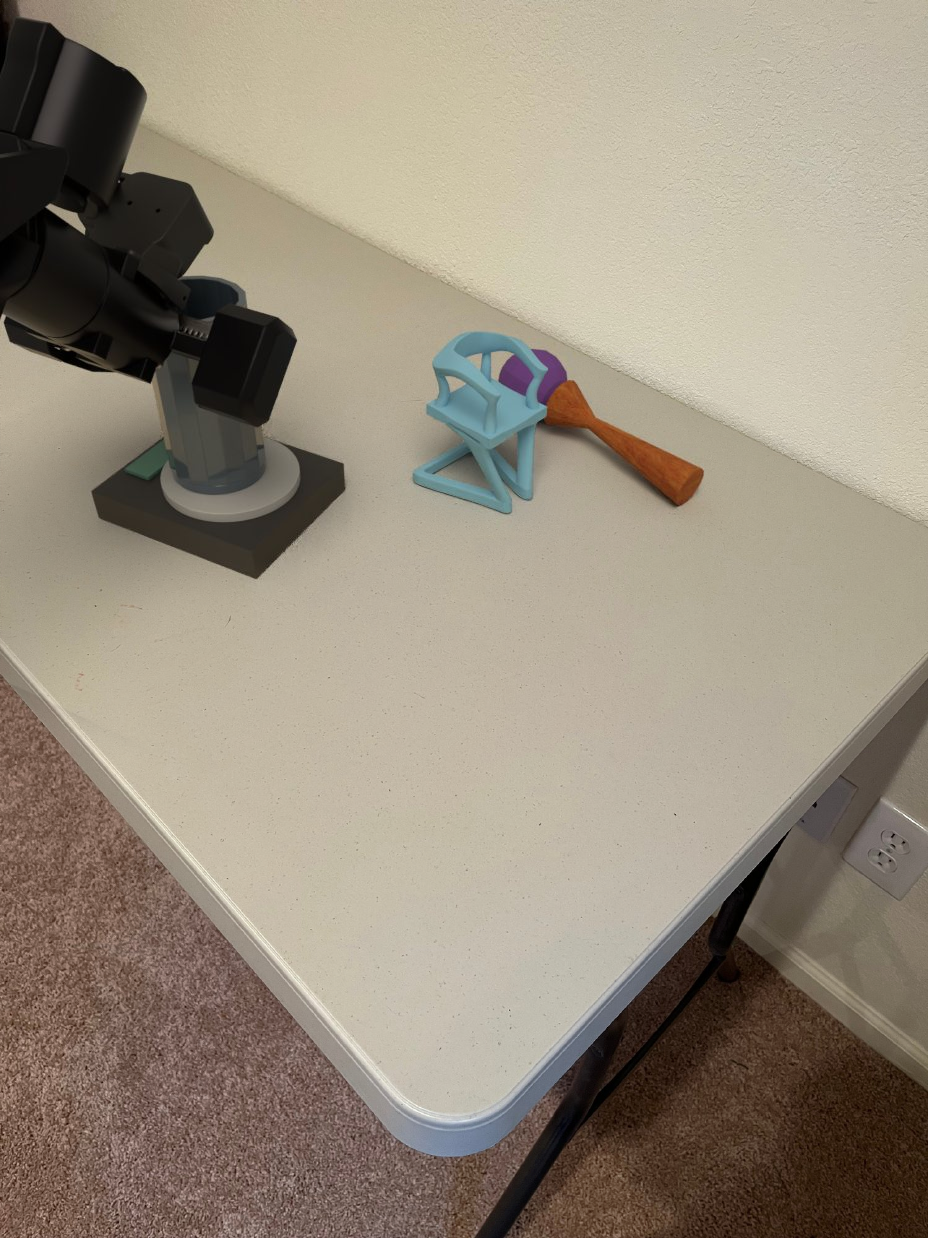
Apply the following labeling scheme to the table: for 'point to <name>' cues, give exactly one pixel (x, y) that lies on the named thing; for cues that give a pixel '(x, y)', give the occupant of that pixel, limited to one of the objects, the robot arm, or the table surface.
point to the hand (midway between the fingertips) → (218, 379)
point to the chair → (485, 419)
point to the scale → (223, 506)
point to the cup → (197, 438)
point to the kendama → (601, 426)
